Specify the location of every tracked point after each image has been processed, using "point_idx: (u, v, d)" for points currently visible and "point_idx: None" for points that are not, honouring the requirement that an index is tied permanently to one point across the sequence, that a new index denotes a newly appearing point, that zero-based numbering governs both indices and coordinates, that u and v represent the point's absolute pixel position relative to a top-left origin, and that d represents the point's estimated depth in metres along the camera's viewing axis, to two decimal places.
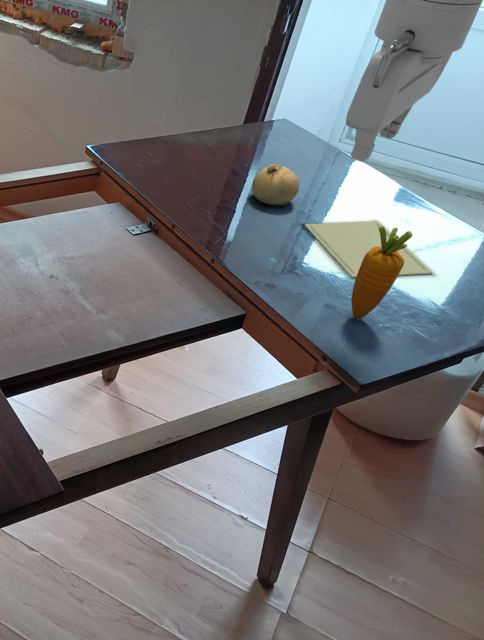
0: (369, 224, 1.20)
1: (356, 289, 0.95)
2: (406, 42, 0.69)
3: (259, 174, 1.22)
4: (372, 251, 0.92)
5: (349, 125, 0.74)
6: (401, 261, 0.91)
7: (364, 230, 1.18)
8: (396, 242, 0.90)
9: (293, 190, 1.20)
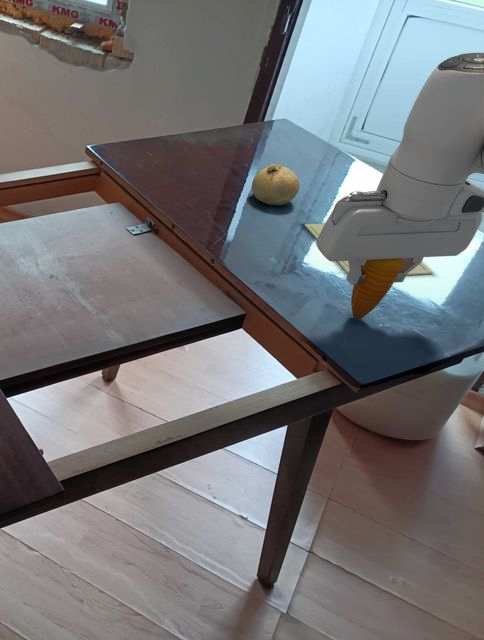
0: None
1: (356, 289, 0.95)
2: (370, 198, 0.85)
3: (259, 174, 1.22)
4: None
5: None
6: (401, 261, 0.91)
7: None
8: None
9: (293, 190, 1.20)
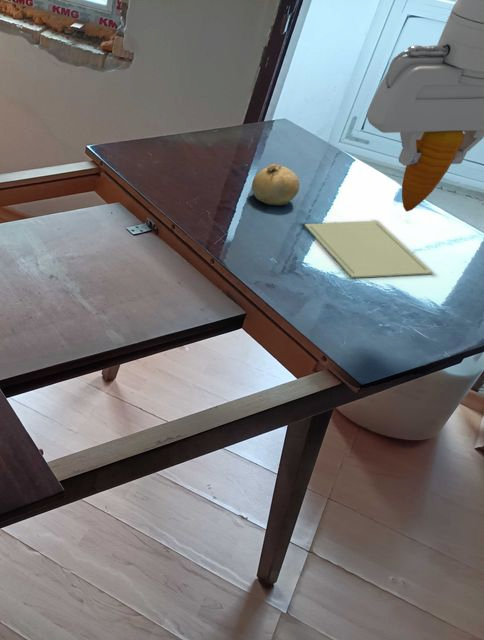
0: (369, 224, 1.20)
1: (408, 173, 0.85)
2: (431, 52, 0.75)
3: (259, 174, 1.22)
4: None
5: (369, 121, 0.81)
6: (461, 135, 0.81)
7: (364, 230, 1.18)
8: None
9: (293, 191, 1.20)
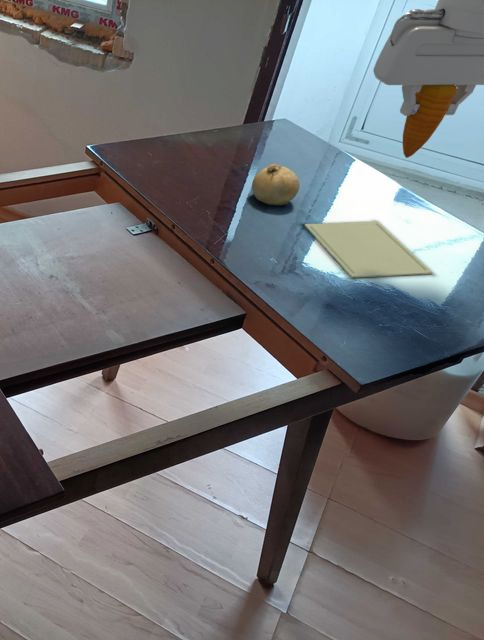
0: (369, 224, 1.20)
1: (408, 123, 0.99)
2: (429, 15, 0.88)
3: (259, 174, 1.22)
4: None
5: (375, 76, 0.94)
6: (454, 88, 0.95)
7: (364, 230, 1.18)
8: None
9: (293, 190, 1.20)
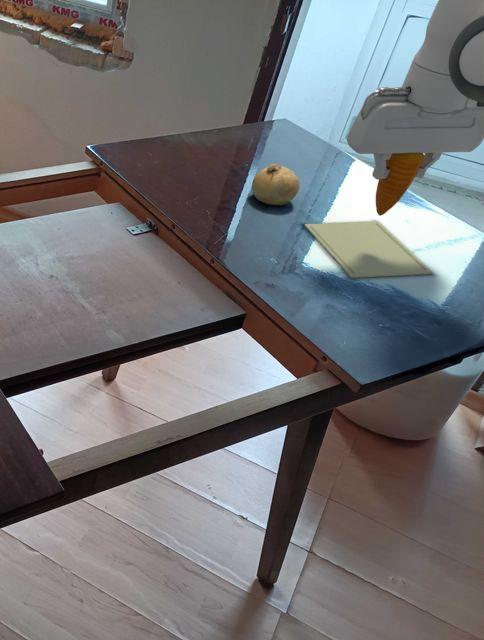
0: (369, 224, 1.20)
1: (380, 185, 1.06)
2: (396, 93, 0.96)
3: (259, 174, 1.22)
4: None
5: (348, 144, 1.02)
6: (421, 155, 1.02)
7: (364, 230, 1.18)
8: None
9: (293, 190, 1.20)
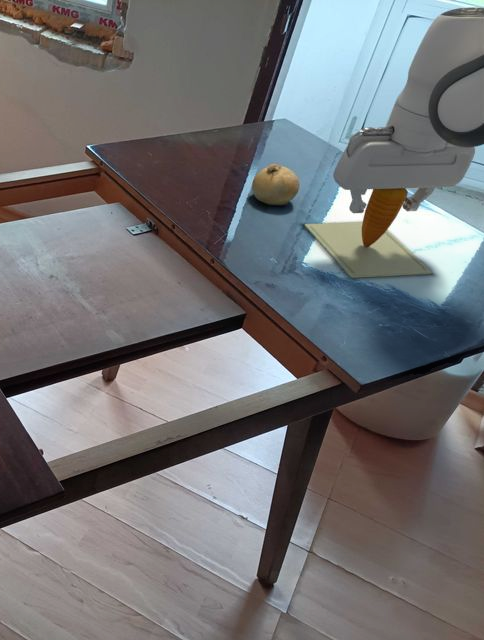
0: None
1: (366, 219, 1.10)
2: (380, 132, 0.99)
3: (259, 174, 1.22)
4: None
5: None
6: (405, 192, 1.06)
7: None
8: None
9: (293, 190, 1.20)
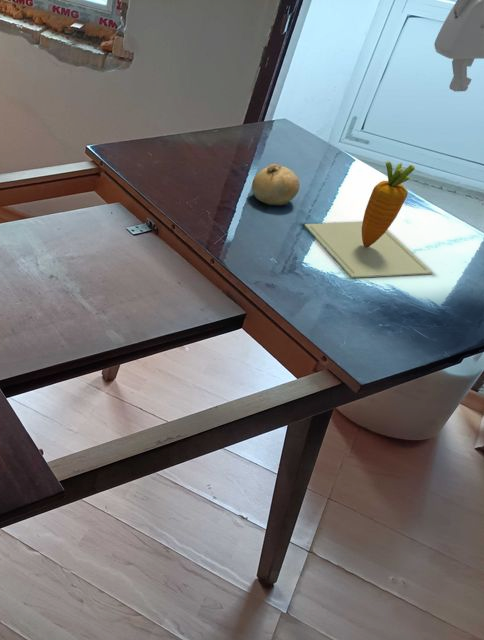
0: None
1: (366, 219, 1.10)
2: None
3: (259, 174, 1.22)
4: (380, 184, 1.07)
5: (436, 50, 0.92)
6: (405, 192, 1.06)
7: None
8: (401, 175, 1.05)
9: (293, 190, 1.20)
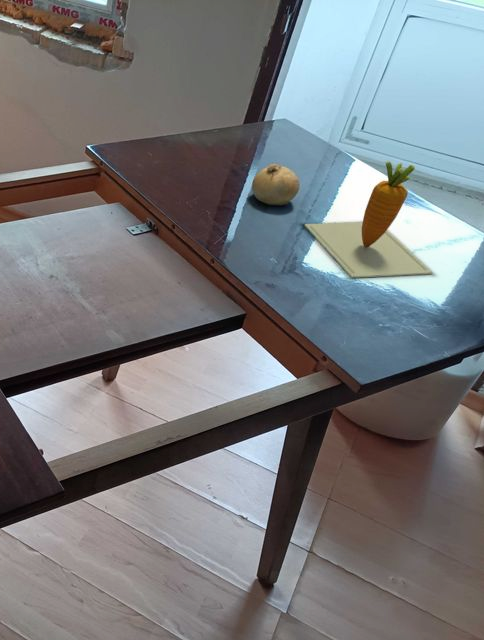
0: None
1: (366, 219, 1.10)
2: None
3: (259, 174, 1.22)
4: (380, 184, 1.07)
5: None
6: (405, 192, 1.06)
7: None
8: (401, 175, 1.05)
9: (293, 190, 1.20)
